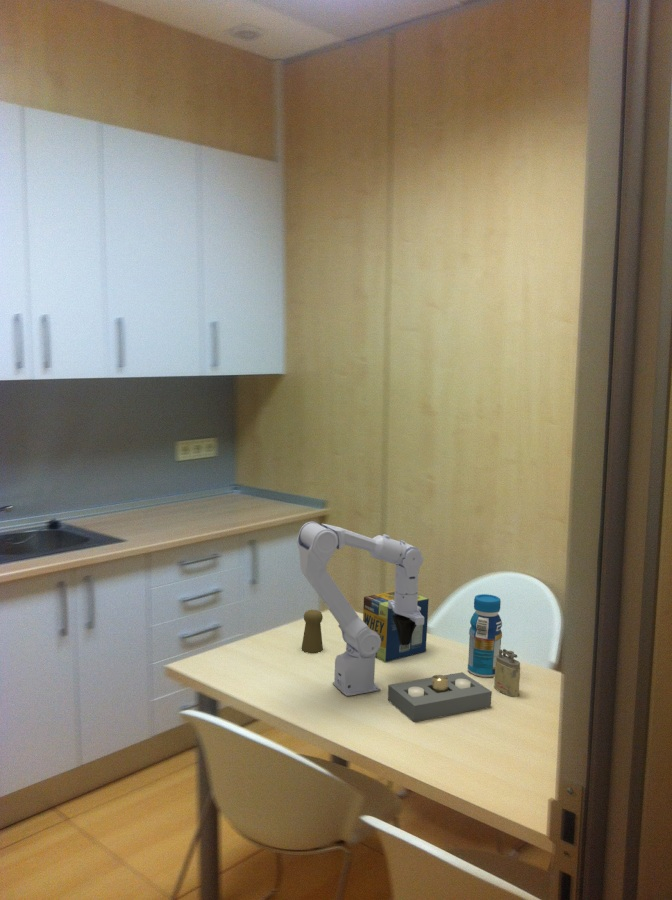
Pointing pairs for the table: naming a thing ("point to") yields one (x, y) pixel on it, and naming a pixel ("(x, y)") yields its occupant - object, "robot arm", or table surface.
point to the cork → (312, 632)
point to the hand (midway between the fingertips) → (404, 643)
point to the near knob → (416, 691)
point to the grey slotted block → (439, 698)
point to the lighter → (507, 673)
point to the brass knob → (440, 683)
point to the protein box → (393, 627)
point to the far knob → (462, 683)
